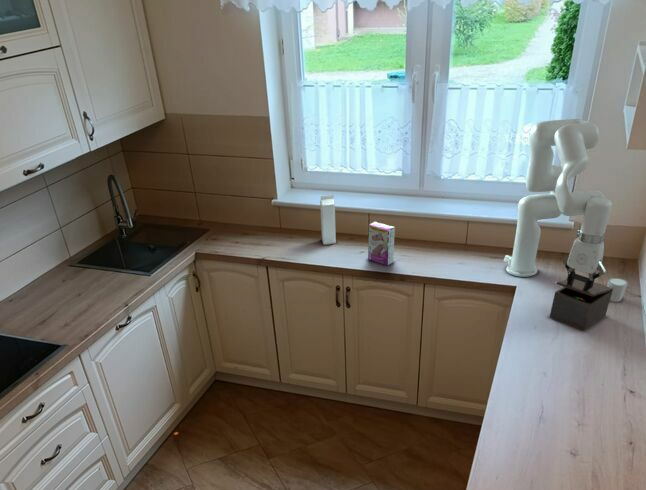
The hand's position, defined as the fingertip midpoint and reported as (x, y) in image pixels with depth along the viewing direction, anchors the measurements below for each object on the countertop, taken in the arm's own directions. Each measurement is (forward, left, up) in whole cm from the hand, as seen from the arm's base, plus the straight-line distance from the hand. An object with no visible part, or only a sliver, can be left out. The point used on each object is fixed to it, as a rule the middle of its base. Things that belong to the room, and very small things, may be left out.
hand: (578, 285), depth 208 cm
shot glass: (+2, +27, -14) cm, 31 cm away
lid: (0, +5, -2) cm, 5 cm away
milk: (-121, -11, -14) cm, 122 cm away
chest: (0, +5, -14) cm, 15 cm away
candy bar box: (-87, -10, -14) cm, 89 cm away
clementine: (-1, +4, -14) cm, 14 cm away
